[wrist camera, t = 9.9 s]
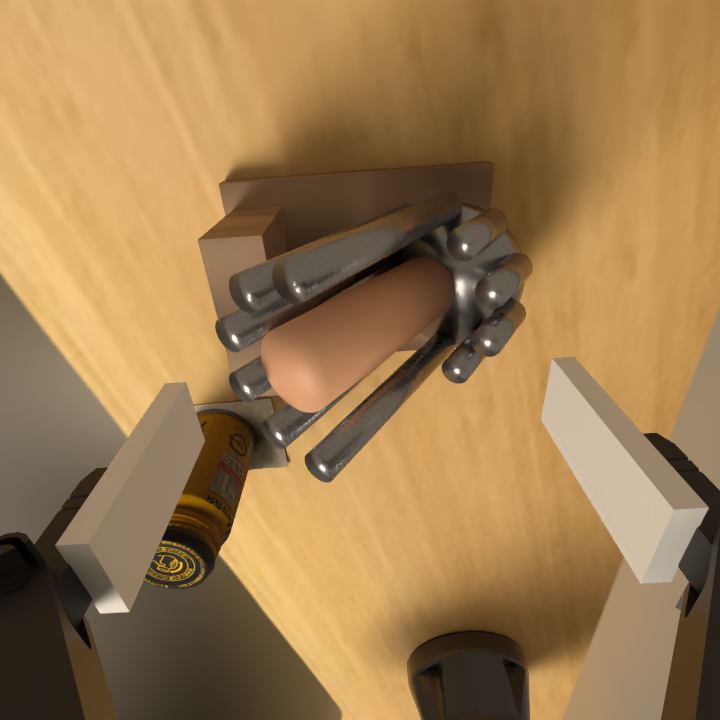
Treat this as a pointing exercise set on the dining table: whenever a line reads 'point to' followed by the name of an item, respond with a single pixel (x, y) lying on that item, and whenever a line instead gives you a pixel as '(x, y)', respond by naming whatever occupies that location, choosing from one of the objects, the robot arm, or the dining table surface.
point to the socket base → (318, 220)
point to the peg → (354, 333)
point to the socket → (358, 261)
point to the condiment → (213, 491)
